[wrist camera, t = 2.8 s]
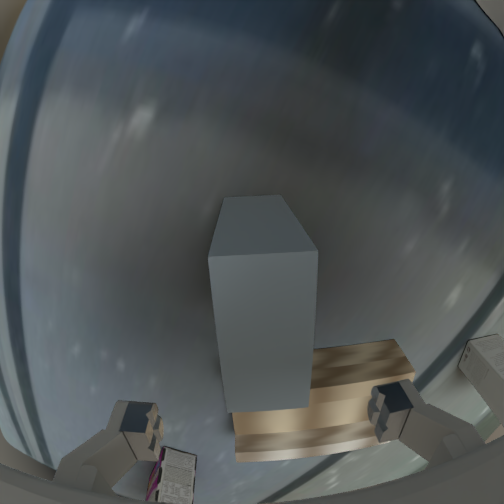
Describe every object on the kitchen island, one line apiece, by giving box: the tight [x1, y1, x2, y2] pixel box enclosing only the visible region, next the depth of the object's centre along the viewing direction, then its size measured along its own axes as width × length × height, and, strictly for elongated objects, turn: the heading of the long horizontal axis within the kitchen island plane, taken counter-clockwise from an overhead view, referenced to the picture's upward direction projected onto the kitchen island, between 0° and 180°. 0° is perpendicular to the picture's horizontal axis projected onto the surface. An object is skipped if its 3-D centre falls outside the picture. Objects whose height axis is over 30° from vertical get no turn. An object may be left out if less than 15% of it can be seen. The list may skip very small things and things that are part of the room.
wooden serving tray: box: [232, 339, 416, 462], centre depth 30 cm, size 17×11×6 cm, turn 93°
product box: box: [208, 195, 318, 413], centre depth 20 cm, size 4×9×13 cm, turn 3°
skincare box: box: [458, 334, 504, 427], centre depth 26 cm, size 6×4×12 cm
